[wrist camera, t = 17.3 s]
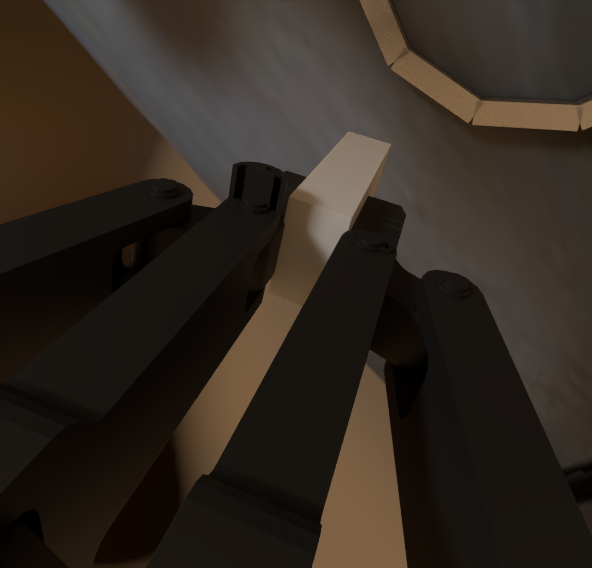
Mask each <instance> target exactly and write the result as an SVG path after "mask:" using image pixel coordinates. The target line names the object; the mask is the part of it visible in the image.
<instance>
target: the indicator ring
mask: <svg viewBox="0 0 592 568" xmlns="http://www.w3.org/2000/svg"><path fill="white" fill-rule="evenodd" d="M359 1H360V3H361V5H362V8H363V10H364V12H365V14H366V17H367V19H368V21H369V24H370V26H371V28H372V31H373V33H374V35H375V38H376V40H377V42H378V44H379V47H380V49H381V51H382V54H383V56H384V58H385V61H386V63H387V65H390V64H392V63H393V62H395V63H394V64H393V66H392V67H391V70H392V71H394V72H395V73H397V74H398V75H400V76H401V77H402V78H404V79H405V80H407V81H408V82H410V83H411V84H412V85H414V86H415V87H417V88H418V89H420V90H421V91H422V92H424V93H425V94H427V95H428V96H430V97H431V98H432V99H434V100H435V101H437V102H438V103H440V104H441V105H442V106H444V107H445V108H447V109H448V110H450V111H451V112H452V113H454V114H455V115H457V116H458V117H460V118H461V119H462V120H464V121H465V122H467V123H469V122H470V121H471V119H472V125H483V126H499V127H515V128H532V129H548V130H565V131H578V127H580V128H581V129H582V130H585V129H587V128H589V127H592V94H591V95H589V96H586V97H584V98H582V99H579V100H577V101H559V100H538V99H516V98H494V97H480V96H479V95H477V94H476V93H474V92H473V91H471V90H470V89H469V88H467V87H466V86H464V85H463V84H462V83H460V82H459V81H457V80H456V79H454V78H453V77H452V76H450V75H449V74H447V73H446V72H444V71H443V70H442V69H440V68H439V67H437V66H436V65H434V64H433V63H432V62H430V61H429V60H427V59H426V58H424V57H423V56H422V55H420V54H419V53H417V52H416V51H415V50H413V49H412V48H410V45H409V43H408V41H407V38H406V36H405V33H404V31H403V28H402V26H401V24H400V21H399V19H398V16H397V14H396V12H395V9H394V7H393V4H392V2H391V0H359Z"/></svg>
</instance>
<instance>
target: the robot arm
mask: <svg viewBox="0 0 592 568" xmlns="http://www.w3.org/2000/svg"><path fill="white" fill-rule="evenodd" d="M390 146H391V144H389V143H386V142H383V141H379V140H376V139H373V138H369V137H366V136H363V135H360V134H356V133H353V132H350V131H349V132H348V133H347V134H346V135H345V136H344V137H343V138H342V139H341V140H340V142H339V143H338V144H337V145H336V146H335V147H334V148H333V149H332V150H331V151H330V152H329V154H328V155H327V156H326V157H325V158H324V159H323V160H322V161H321V162H320V163H319V165H318V166H317V167H316V168H315V169H314V170H313V171H312V172H311V173H310V174H309V175H308V177H304V176H301V175H298V174H295V173H292V172H289V171H285V172H282V171H281V170H280V169H278V168H275V167H273V166H270V165H267V164H263V163H258V162H239V163H236V164H234V165H233V169H232V176H231V183H230V191H229V197H228V198H227V199H226V200H225V201H224V202H222V203H221V204H220V205H219V206H218V207H216V208H210V207H204V206H198V205H192V198H193V193H192V191H191V189H190V188H188V187H187V186H185V185H184V184H181V183H178V182H176V181H175V180H171V179H170V180H168V179H165V178H161V179H150V180H144V181H141V182H137V183H134V184H131V185H127V186H124V187H121V188H118V189H114V190H111V191H108V192H104V193H101V194H98V195H95V196H91V197H88V198H85V199H82V200H78V201H75V202H72V203H69V204H65V205H62V206H59V207H55V208H52V209H49V210H46V211H42V212H39V213H36V214H33V215H30V216H26V217H23V218H20V219H16V220H13V221H10V222H7V223H3V224H0V568H91V566H92V563H93V561H94V558H95V555H96V552H97V549H98V546H99V545H100V543H101V540H102V538H103V537H104V535H105V533H106V532H107V530H108V528H109V527H110V525H111V524H112V522H113V521H114V520H115V518H116V516H117V515H118V514H119V512H120V511H121V509H122V508H123V506H124V505H125V503H126V502H127V500H128V499H129V497H130V496H131V494H132V493H133V491H134V490H135V488H136V487H137V486H138V484H139V483H140V481H141V480H142V478H143V477H144V475H145V474H146V472H147V471H148V469H149V468H150V466H151V465H152V463H153V462H154V460H155V459H156V458H157V456H158V454H159V453H160V452H161V450H162V449H163V447H164V446H165V444H166V443H167V441H168V440H169V438H170V437H171V435H172V434H173V432H174V431H175V430H176V428H177V427H178V425H179V423H180V422H181V421H182V419H183V417H184V416H185V415H186V413H187V411H188V410H189V409H190V407H191V406H192V404H193V403H194V401H195V400H196V398H197V397H198V396H199V394H200V393H201V391H202V390H203V388H204V387H205V385H206V384H207V382H208V381H209V379H210V378H211V376H212V375H213V373H214V372H215V370H216V369H217V368H218V366H219V365H220V363H221V362H222V360H223V359H224V357H225V356H226V354H227V353H228V351H229V350H230V348H231V347H232V345H233V344H234V342H235V341H236V339H237V338H238V337H239V335H240V333H241V332H242V331H243V329H244V328H245V326H246V325H247V323H248V322H249V320H250V319H251V317H252V316H253V314H254V313H255V311H256V310H257V308H258V307H259V305H260V304H261V303H262V299H263V295H264V290H265V286H266V284H267V283H268V281H269V280H270V279H271V283H270V288H269V293H271V294H273V295H276V296H279V297H282V298H285V299H288V300H290V301H293V302H295V303H298V304H301V305H303V307H302V309H301V310H300V312H299V314H298V316H297V318H296V320H295V321H294V323H293V325H292V327H291V329H290V331H289V332H288V334H287V336H286V338H285V340H284V342H283V344H282V345H281V347H280V349H279V351H278V353H277V355H276V356H275V358H274V360H273V362H272V364H271V365H270V368H269V369H268V371H267V373H266V375H265V376H264V378H263V380H262V382H261V384H260V386H259V388H258V389H257V391H256V393H255V395H254V397H253V398H252V400H251V402H250V404H249V406H248V408H247V410H246V411H245V413H244V415H243V417H242V419H241V420H240V422H239V424H238V426H237V428H236V430H235V432H234V433H233V435H232V437H231V439H230V441H229V442H228V444H227V446H226V448H225V450H224V451H223V453H222V455H221V457H220V459H219V461H218V463H217V464H216V466H215V467H214V469H213V471H212V472H211V473H210V474H209V475H204V474H203V475H202V476H201V477H200V478H199V479H198V480H197V481H196V483H195V484H194V486H193V488H192V489H191V491H190V492H189V494H188V495H187V497H186V499H185V500H184V502H183V504H182V506H181V508H180V509H179V511H178V513H177V514H176V516H175V518H174V520H173V521H172V523H171V525H170V527H169V528H168V530H167V532H166V534H165V535H164V537H163V539H162V541H161V542H160V544H159V546H158V548H157V549H156V551H155V553H154V555H153V556H152V558H151V560H150V562H149V563H148V565H147V567H146V568H312V564H313V561H314V557H315V553H316V550H317V545H318V542H319V538H320V533H321V528H322V525H321V524H320V521H321V516H322V512H323V509H324V505H325V502H326V499H327V495H328V492H329V488H330V485H331V481H332V477H333V474H334V471H335V467H336V464H337V460H338V456H339V453H340V450H341V446H342V443H343V439H344V436H345V432H346V429H347V425H348V422H349V418H350V415H351V411H352V408H353V404H354V401H355V397H356V394H357V390H358V387H359V383H360V380H361V377H362V373H363V370H364V366H365V363H366V359H367V356H368V352H369V349H370V350H371V351H373V352H375V353H376V354H378V355H379V356H381V357H382V358H384V359H386V362H385V367H384V375H385V383H386V391H387V399H388V408H389V416H390V425H391V433H392V441H393V450H394V458H395V467H396V475H397V483H398V491H399V500H400V507H401V516H402V524H403V533H404V541H405V550H406V558H407V567H408V568H592V536H591V533H590V531H589V529H588V527H587V524H586V522H585V520H584V518H583V516H582V513H581V511H580V509H579V507H578V504H577V502H576V500H575V498H574V496H573V493H572V491H571V489H570V487H569V484H568V482H567V480H566V478H565V476H564V473H563V471H562V469H561V467H560V464H559V462H558V460H557V458H556V456H555V453H554V451H553V449H552V447H551V444H550V442H549V440H548V438H547V436H546V433H545V431H544V429H543V427H542V425H541V422H540V420H539V418H538V416H537V413H536V411H535V409H534V407H533V405H532V402H531V400H530V398H529V396H528V393H527V391H526V389H525V387H524V385H523V382H522V380H521V378H520V376H519V373H518V371H517V369H516V367H515V365H514V362H513V360H512V358H511V356H510V353H509V351H508V349H507V347H506V345H505V342H504V340H503V338H502V336H501V333H500V331H499V329H498V327H497V325H496V322H495V320H494V318H493V316H492V314H491V311H490V309H489V307H488V305H487V302H486V300H485V298H484V296H483V294H482V292H481V291H480V290H479V288H478V287H477V286H476V285H474V284H473V283H472V282H470V281H469V279H467V278H465V277H464V276H463V277H462V275H459V274H457V273H451V272H448V271H441V270H433V271H428V272H427V273H425V274H424V275H423V277H422V279H420V278H418V277H416V276H414V275H412V274H411V273H409V272H408V271H406V270H405V269H404V268H403V267H402V266H401V265H400V264H399V263H398V262H397V260H396V255H397V251H396V248H397V245H398V241H399V238H400V234H401V231H402V227H403V224H404V221H405V217H406V214H405V212H404V210H403V209H402V207H401V206H399V205H396V204H393V203H390V202H387V201H384V200H380V199H377V198H374V195H375V192H376V189H377V186H378V183H379V180H380V177H381V174H382V171H383V168H384V165H385V162H386V159H387V155H388V152H389V149H390ZM130 244H133V261H131V262H129V263H127V264H123V262H122V249H123V248H124V247H126V246H128V245H130ZM271 277H272V278H271Z"/></svg>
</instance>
